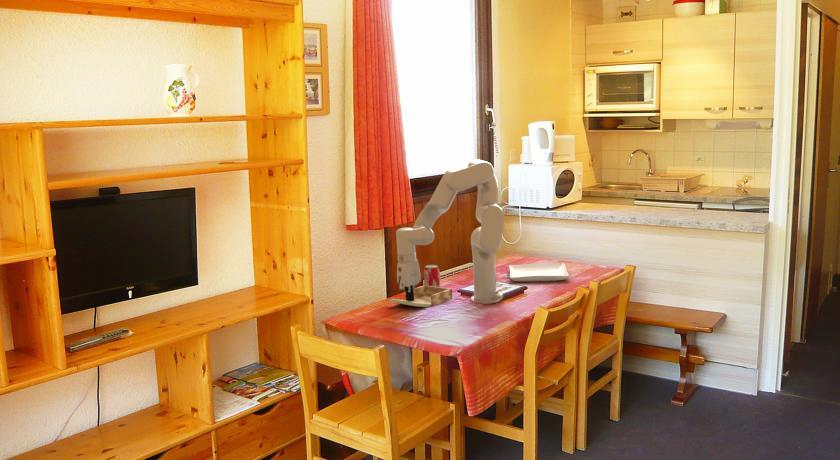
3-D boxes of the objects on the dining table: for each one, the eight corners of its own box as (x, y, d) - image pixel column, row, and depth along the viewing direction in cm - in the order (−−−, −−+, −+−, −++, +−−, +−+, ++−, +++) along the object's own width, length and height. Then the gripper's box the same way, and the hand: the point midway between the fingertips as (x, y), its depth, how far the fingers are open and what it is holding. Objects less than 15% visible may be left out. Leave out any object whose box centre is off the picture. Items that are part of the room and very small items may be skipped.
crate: (425, 295, 341) (424, 284, 340) (452, 300, 331) (451, 289, 330) (406, 302, 331) (405, 291, 330) (433, 307, 322) (432, 295, 321)
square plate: (564, 270, 380) (564, 262, 379) (569, 283, 353) (569, 274, 352) (509, 271, 383) (508, 263, 382) (510, 284, 356) (509, 276, 355)
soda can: (439, 294, 343) (437, 267, 341) (423, 294, 344) (422, 267, 342) (441, 290, 350) (440, 264, 348) (426, 290, 351) (425, 264, 349)
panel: (406, 300, 330) (389, 298, 322) (431, 304, 321) (415, 303, 313) (405, 303, 330) (389, 301, 322) (431, 307, 321) (414, 306, 313)
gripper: (401, 262, 310) (404, 306, 313) (425, 254, 321) (428, 297, 324) (387, 260, 315) (391, 303, 318) (412, 253, 326) (415, 295, 329)
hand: (410, 300), depth 321 cm, fingers closed
